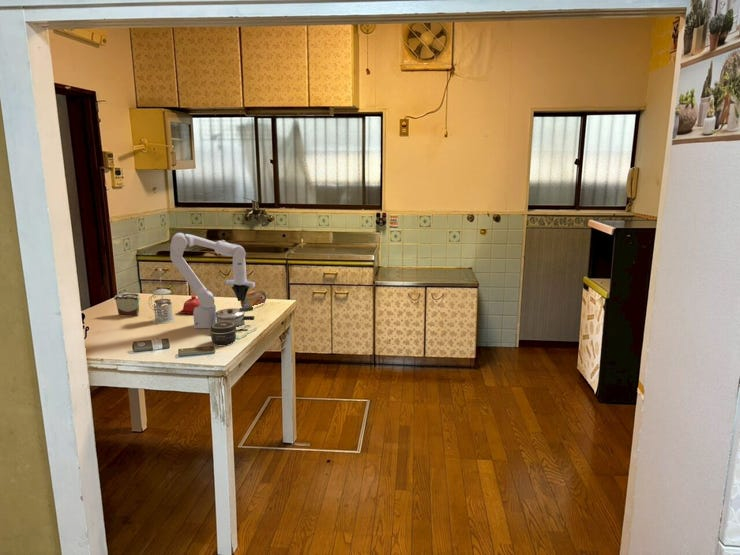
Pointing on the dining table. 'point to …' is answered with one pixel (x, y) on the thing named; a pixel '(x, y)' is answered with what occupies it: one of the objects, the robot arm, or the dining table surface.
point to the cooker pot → (237, 320)
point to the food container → (127, 304)
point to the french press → (162, 307)
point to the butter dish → (190, 305)
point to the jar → (223, 333)
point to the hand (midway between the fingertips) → (241, 300)
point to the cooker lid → (232, 312)
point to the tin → (254, 298)
